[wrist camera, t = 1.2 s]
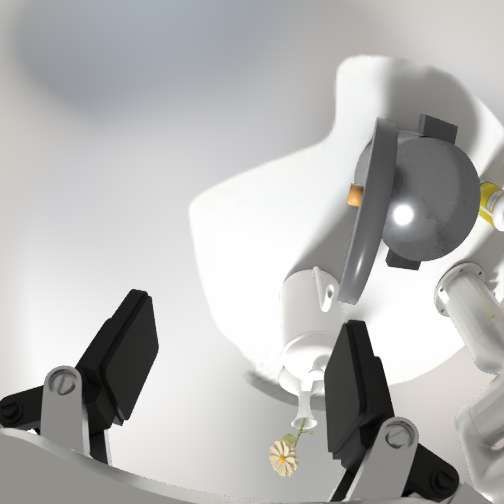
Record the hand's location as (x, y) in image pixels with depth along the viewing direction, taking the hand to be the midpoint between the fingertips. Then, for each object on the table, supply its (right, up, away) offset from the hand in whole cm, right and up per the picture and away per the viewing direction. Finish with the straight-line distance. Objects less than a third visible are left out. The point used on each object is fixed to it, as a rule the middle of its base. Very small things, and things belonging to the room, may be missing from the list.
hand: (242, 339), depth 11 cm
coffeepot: (+11, -4, +42) cm, 43 cm away
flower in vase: (+11, -24, +52) cm, 59 cm away
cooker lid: (+11, +7, +14) cm, 19 cm away
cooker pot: (+23, +14, +30) cm, 41 cm away
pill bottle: (+40, +13, +29) cm, 52 cm away
